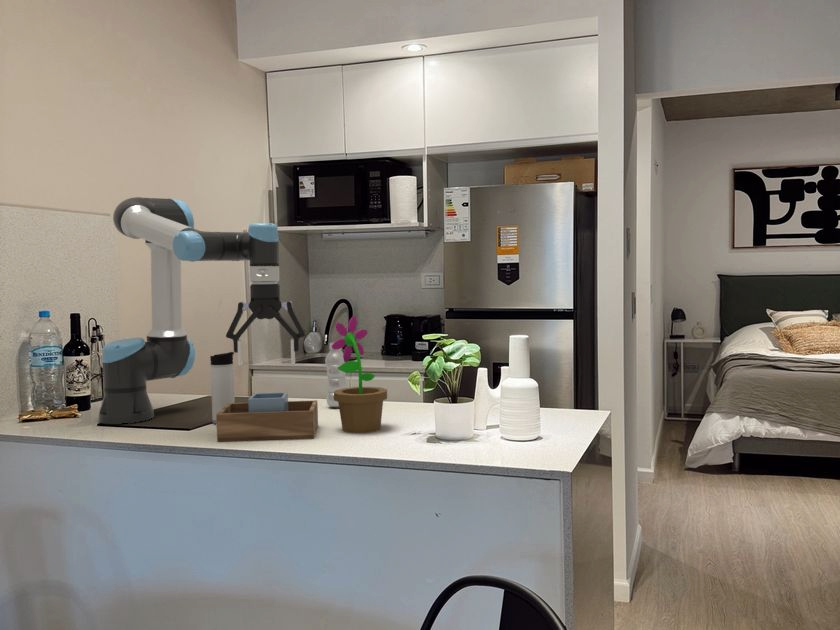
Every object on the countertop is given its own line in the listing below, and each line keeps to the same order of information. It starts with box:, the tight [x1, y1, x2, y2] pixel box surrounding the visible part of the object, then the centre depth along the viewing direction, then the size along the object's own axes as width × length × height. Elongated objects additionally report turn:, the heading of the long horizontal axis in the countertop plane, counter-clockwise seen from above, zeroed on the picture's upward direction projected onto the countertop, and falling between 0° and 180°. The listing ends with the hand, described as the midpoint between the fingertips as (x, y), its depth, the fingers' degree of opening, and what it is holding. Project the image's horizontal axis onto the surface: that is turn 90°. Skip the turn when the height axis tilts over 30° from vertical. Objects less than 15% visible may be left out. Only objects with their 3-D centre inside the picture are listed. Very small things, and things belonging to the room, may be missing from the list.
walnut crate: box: [216, 399, 319, 443], centre depth 202 cm, size 16×24×7 cm, turn 93°
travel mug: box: [209, 351, 236, 425], centre depth 218 cm, size 6×7×20 cm
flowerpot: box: [332, 315, 388, 434], centre depth 205 cm, size 14×14×30 cm
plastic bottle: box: [324, 342, 347, 409], centre depth 237 cm, size 6×7×20 cm
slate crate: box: [247, 392, 289, 413], centre depth 202 cm, size 9×9×9 cm
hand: (266, 364), depth 201 cm, fingers open, 13 cm apart
